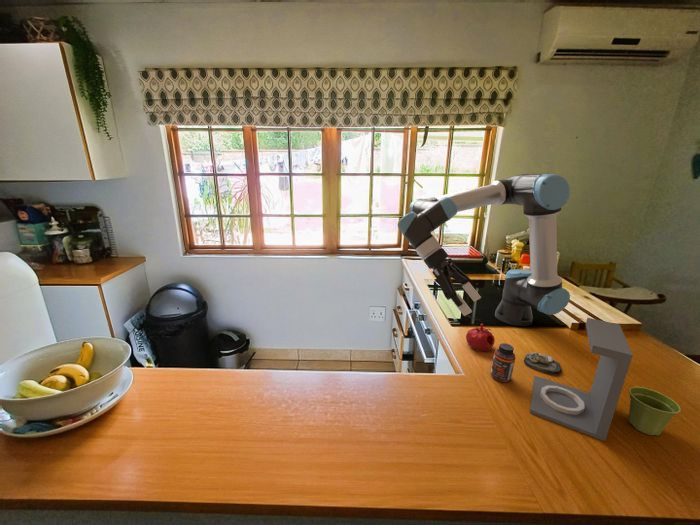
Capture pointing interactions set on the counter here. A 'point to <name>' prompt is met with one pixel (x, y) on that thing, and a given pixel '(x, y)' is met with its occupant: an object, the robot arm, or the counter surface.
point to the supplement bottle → (503, 363)
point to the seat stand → (599, 405)
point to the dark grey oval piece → (542, 363)
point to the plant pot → (650, 410)
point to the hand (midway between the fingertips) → (473, 306)
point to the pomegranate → (480, 338)
